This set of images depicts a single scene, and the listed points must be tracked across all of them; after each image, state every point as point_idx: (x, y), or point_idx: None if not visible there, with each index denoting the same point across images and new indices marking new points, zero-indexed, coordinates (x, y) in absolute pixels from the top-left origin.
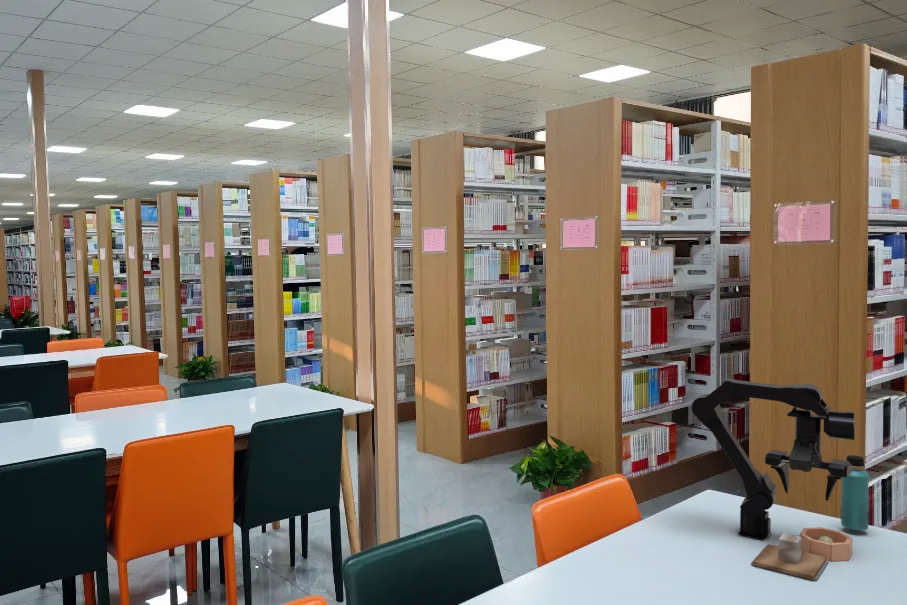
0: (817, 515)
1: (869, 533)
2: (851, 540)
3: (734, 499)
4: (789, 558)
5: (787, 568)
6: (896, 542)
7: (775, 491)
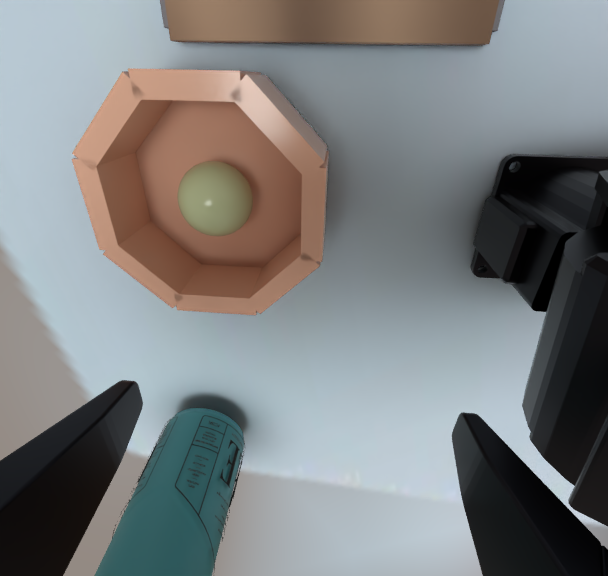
0: (332, 480)
1: None
2: (93, 223)
3: None
4: None
5: None
6: (95, 394)
7: (555, 441)
